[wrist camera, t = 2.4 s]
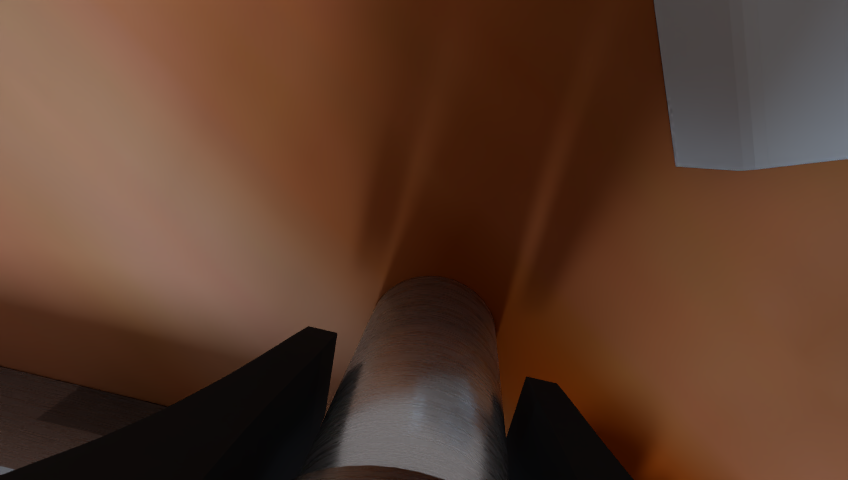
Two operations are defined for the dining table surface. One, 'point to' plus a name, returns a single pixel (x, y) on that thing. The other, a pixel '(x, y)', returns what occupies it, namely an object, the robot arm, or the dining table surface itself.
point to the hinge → (755, 81)
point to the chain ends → (57, 417)
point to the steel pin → (418, 393)
